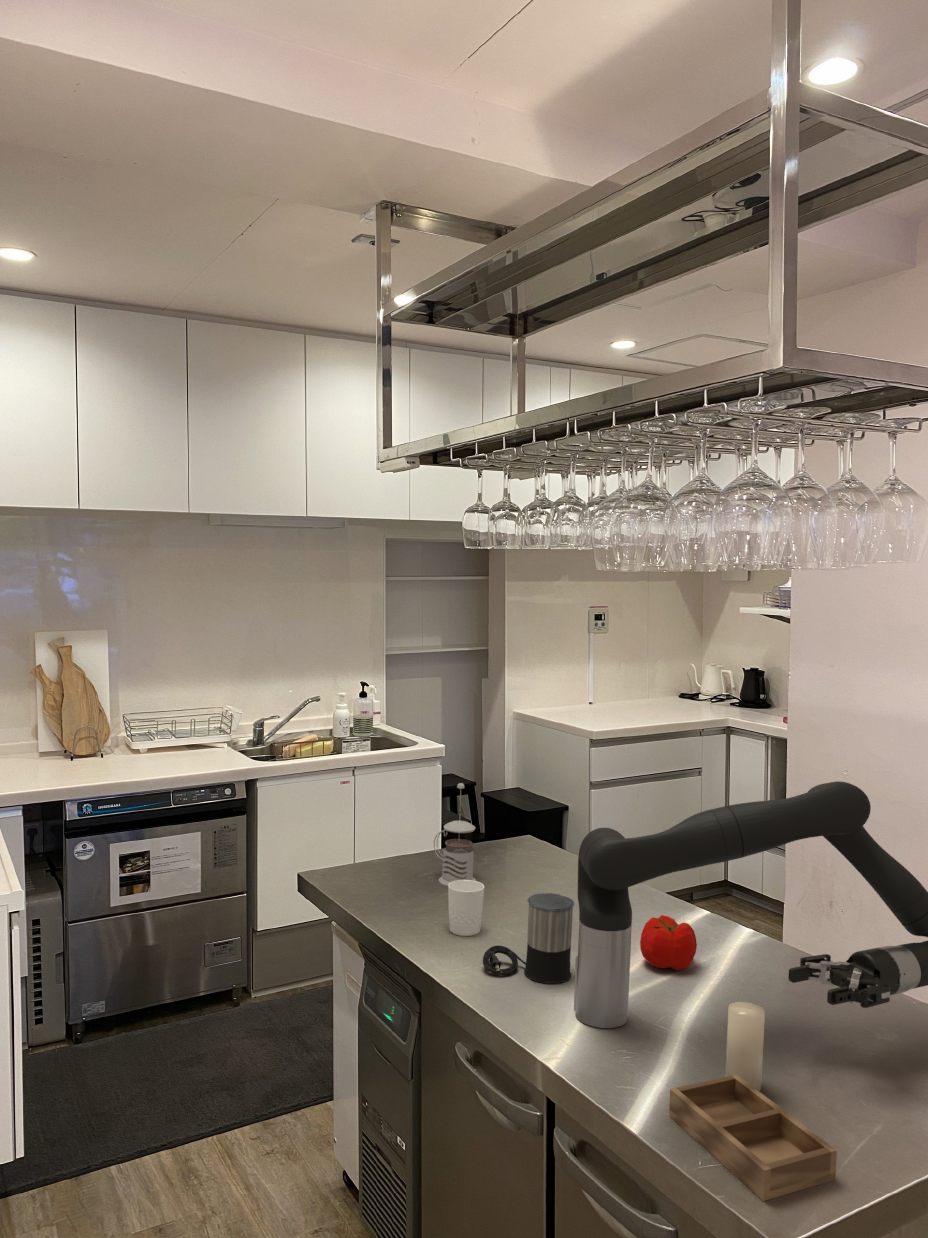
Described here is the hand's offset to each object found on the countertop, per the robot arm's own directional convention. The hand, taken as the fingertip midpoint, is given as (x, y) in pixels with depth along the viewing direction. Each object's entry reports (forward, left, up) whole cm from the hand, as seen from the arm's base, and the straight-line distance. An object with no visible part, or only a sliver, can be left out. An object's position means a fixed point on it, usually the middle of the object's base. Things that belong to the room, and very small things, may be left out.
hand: (809, 986), depth 151 cm
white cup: (-72, -28, -14) cm, 79 cm away
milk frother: (-48, -25, -14) cm, 56 cm away
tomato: (-42, +4, -14) cm, 44 cm away
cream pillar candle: (0, -12, -14) cm, 19 cm away
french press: (-104, -17, -14) cm, 106 cm away
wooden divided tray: (+13, -22, -14) cm, 29 cm away
